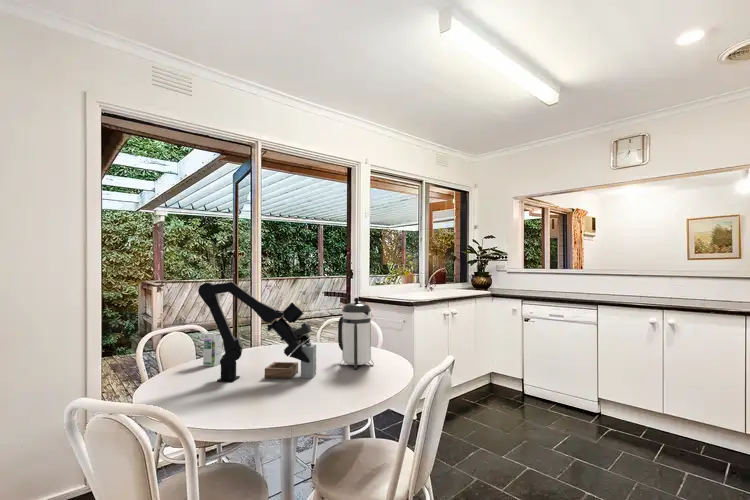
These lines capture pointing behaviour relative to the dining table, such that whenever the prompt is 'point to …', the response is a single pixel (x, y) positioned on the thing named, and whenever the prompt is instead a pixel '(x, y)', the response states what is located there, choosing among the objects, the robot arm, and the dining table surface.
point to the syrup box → (212, 349)
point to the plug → (309, 368)
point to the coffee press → (355, 334)
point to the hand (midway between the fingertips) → (312, 359)
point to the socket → (281, 370)
